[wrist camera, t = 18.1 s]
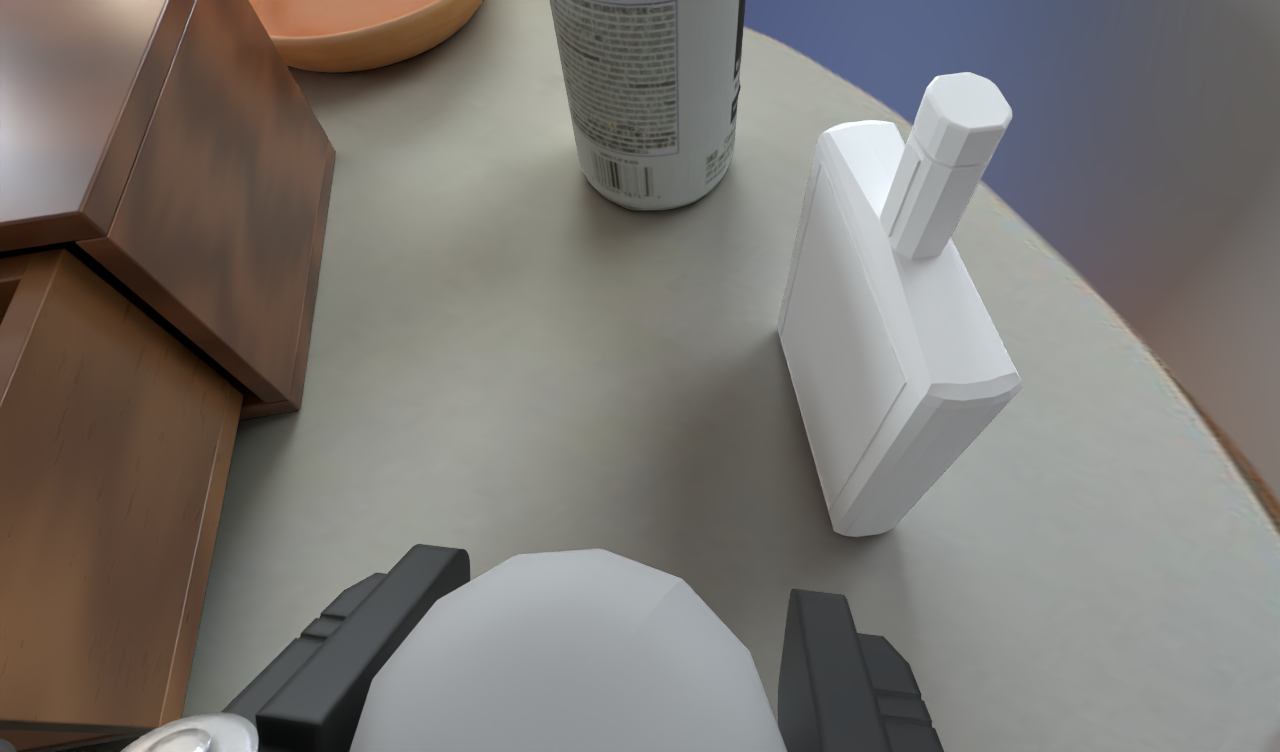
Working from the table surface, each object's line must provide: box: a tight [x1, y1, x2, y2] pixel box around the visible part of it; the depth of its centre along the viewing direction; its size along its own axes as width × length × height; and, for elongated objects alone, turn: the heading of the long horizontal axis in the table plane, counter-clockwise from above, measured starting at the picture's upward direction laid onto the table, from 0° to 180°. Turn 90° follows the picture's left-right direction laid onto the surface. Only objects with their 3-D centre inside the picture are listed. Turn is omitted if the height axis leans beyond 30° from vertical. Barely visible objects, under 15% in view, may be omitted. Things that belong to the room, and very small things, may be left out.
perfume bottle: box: [777, 72, 1022, 537], centre depth 16 cm, size 8×2×12 cm, turn 7°
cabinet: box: [0, 0, 336, 420], centre depth 22 cm, size 14×12×10 cm
